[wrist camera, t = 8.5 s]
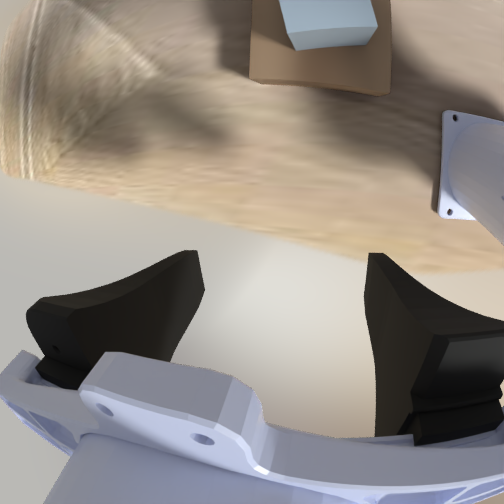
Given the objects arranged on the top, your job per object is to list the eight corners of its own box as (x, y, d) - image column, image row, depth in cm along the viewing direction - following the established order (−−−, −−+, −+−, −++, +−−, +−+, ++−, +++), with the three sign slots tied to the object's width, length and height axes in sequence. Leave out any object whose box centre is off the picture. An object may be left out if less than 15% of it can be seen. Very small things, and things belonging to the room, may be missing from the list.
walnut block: (378, -2, 13) (388, -22, 9) (377, 96, 17) (389, 93, 13) (266, -11, 14) (253, -33, 11) (262, 84, 18) (249, 78, 15)
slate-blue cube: (350, -13, 10) (355, -42, 7) (366, 45, 12) (377, 26, 9) (282, -6, 12) (269, -34, 8) (296, 50, 13) (287, 33, 10)
